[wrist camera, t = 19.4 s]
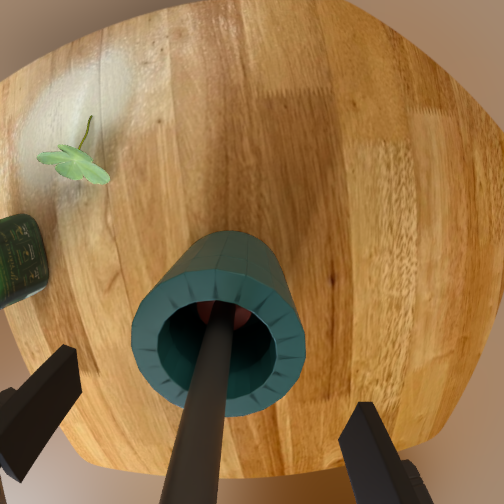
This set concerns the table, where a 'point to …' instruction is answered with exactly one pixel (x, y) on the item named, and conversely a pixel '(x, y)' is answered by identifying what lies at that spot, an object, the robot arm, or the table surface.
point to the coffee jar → (21, 259)
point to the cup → (244, 339)
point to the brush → (204, 410)
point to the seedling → (75, 163)
